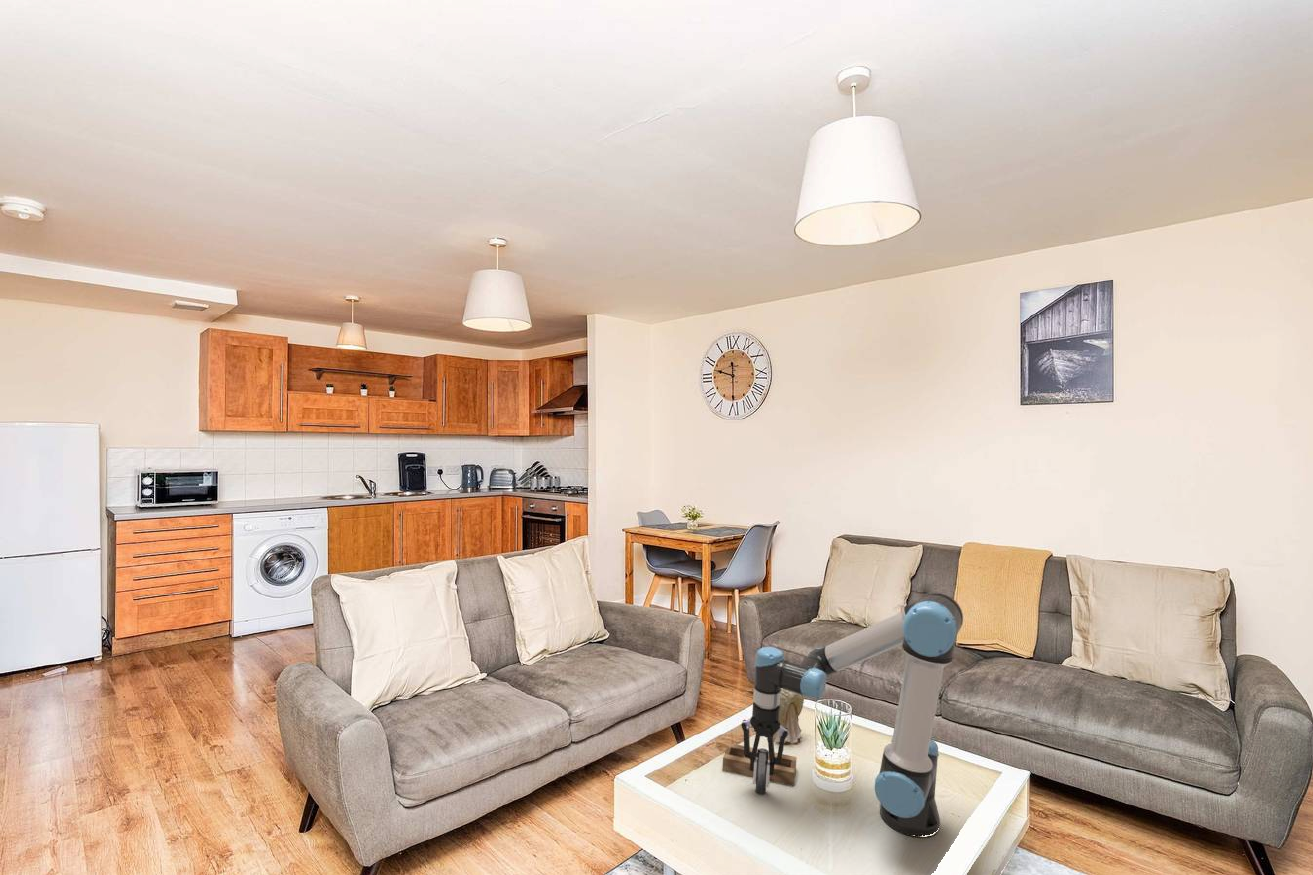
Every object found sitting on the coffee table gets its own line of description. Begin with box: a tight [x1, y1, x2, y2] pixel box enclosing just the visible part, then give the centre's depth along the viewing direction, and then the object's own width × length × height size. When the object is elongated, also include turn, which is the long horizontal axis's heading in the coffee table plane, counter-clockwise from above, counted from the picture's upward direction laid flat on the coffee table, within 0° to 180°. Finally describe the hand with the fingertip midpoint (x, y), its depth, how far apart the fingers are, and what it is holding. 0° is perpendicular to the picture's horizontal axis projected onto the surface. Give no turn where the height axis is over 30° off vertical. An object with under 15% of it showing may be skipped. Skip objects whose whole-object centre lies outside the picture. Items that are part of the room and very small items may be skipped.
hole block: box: [721, 742, 797, 787], centre depth 195 cm, size 21×9×4 cm, turn 73°
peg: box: [754, 748, 769, 796], centre depth 184 cm, size 3×3×12 cm
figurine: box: [773, 688, 805, 747], centre depth 215 cm, size 12×12×20 cm
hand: (761, 783), depth 184 cm, fingers closed on peg, 3 cm apart
